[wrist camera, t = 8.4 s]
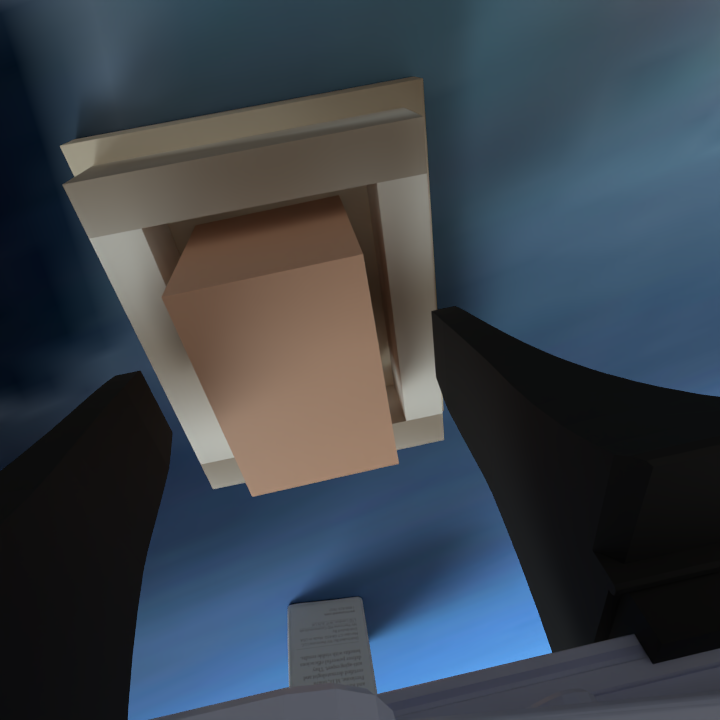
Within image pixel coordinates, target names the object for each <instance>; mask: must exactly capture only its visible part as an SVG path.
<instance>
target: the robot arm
mask: <svg viewBox="0 0 720 720" xmlns="http://www.w3.org/2000/svg"><path fill="white" fill-rule="evenodd" d="M431 315H432V330H433V344H434V358H435V372H436V379H437V382H438V384H439V387H440V390H441V393H442V395H443V398H444V401H445V403H446V406H447V408H448V410H449V412H450V414H451V416H452V418H453V420H454V422H455V424H456V425H457V427H458V429H459V431H460V433H461V435H462V437H463V438H464V440H465V442H466V444H467V446H468V448H469V450H470V451H471V453H472V455H473V457H474V459H475V461H476V462H477V464H478V466H479V468H480V470H481V472H482V473H483V475H484V477H485V479H486V481H487V483H488V485H489V488H490V490H491V492H492V494H493V496H494V499H495V501H496V504H497V506H498V509H499V511H500V513H501V516H502V518H503V521H504V523H505V526H506V528H507V531H508V533H509V536H510V538H511V541H512V544H513V546H514V549H515V551H516V554H517V556H518V559H519V561H520V564H521V567H522V569H523V572H524V575H525V577H526V580H527V583H528V586H529V588H530V591H531V594H532V596H533V599H534V602H535V605H536V607H537V610H538V613H539V615H540V618H541V621H542V624H543V627H544V630H545V633H546V636H547V638H548V641H549V644H550V647H551V650H552V653H550V654H546V655H542V656H537V657H533V658H529V659H525V660H520V661H516V662H512V663H508V664H503V665H499V666H495V667H491V668H486V669H482V670H478V671H474V672H469V673H465V674H461V675H457V676H452V677H448V678H444V679H440V680H436V681H431V682H427V683H423V684H419V685H414V686H410V687H406V688H402V689H397V690H393V691H389V692H385V693H380V694H376V695H374V694H373V693H372V692H371V691H369V690H368V689H367V688H361V687H355V686H349V685H343V684H337V683H323V684H314V685H305V686H296V687H288V688H283V689H278V690H274V691H270V692H266V693H261V694H257V695H253V696H248V697H244V698H240V699H236V700H231V701H227V702H223V703H218V704H214V705H210V706H206V707H201V708H197V709H193V710H189V711H184V712H180V713H176V714H171V715H167V716H163V717H159V718H154V719H150V720H720V397H716V396H709V395H702V394H695V393H690V392H685V391H679V390H674V389H668V388H663V387H658V386H654V385H649V384H645V383H640V382H636V381H632V380H628V379H625V378H621V377H617V376H613V375H610V374H606V373H602V372H599V371H596V370H593V369H589V368H586V367H584V366H581V365H578V364H575V363H572V362H569V361H567V360H564V359H561V358H558V357H556V356H553V355H551V354H549V353H546V352H544V351H542V350H539V349H537V348H535V347H533V346H531V345H528V344H526V343H524V342H522V341H520V340H518V339H516V338H514V337H512V336H510V335H508V334H506V333H504V332H502V331H500V330H498V329H497V328H495V327H493V326H491V325H489V324H487V323H486V322H484V321H482V320H480V319H479V318H477V317H475V316H473V315H471V314H470V313H468V312H466V311H464V310H462V309H460V308H458V307H456V306H453V307H448V308H443V309H438V310H434V311H431ZM171 444H172V431H171V429H170V427H169V425H168V423H167V421H166V419H165V417H164V415H163V413H162V411H161V409H160V408H159V406H158V404H157V402H156V400H155V398H154V396H153V394H152V392H151V390H150V388H149V386H148V384H147V382H146V380H145V378H144V376H143V375H142V373H141V371H136V372H132V373H127V374H122V375H117V376H114V377H113V378H112V379H110V380H109V381H107V382H106V383H105V384H104V385H102V386H101V387H100V388H99V389H97V390H96V391H95V392H94V393H93V394H92V395H90V396H89V397H88V398H87V399H86V400H85V401H84V402H82V403H81V404H80V405H79V406H78V407H77V408H76V409H74V410H73V411H72V412H71V413H70V414H69V415H68V416H66V417H65V418H64V419H63V420H62V421H61V422H60V423H59V424H57V425H56V426H55V427H54V428H53V429H52V430H51V431H49V432H48V433H47V434H46V435H45V436H43V437H42V438H41V439H40V440H38V441H37V442H36V443H35V444H34V445H32V446H31V447H30V448H29V449H28V450H26V451H25V452H24V453H23V454H21V455H20V456H19V457H18V458H17V459H15V460H14V461H13V462H12V463H10V464H9V465H8V466H7V467H5V468H4V469H3V470H1V471H0V720H128V704H129V692H130V679H131V667H132V655H133V646H134V638H135V629H136V620H137V611H138V604H139V598H140V591H141V584H142V577H143V570H144V565H145V561H146V556H147V551H148V548H149V544H150V540H151V536H152V532H153V529H154V525H155V521H156V517H157V513H158V510H159V506H160V502H161V498H162V494H163V490H164V487H165V483H166V479H167V474H168V470H169V464H170V455H171Z"/></svg>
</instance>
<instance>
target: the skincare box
mask: <svg viewBox="0 0 720 720" xmlns="http://www.w3.org/2000/svg"><path fill="white" fill-rule="evenodd" d="M288 667H289V687H296V686H305V685H314V684H323V683H337V684H343V685H349V686H355V687H361V688H367V689H368V690H369V691H371V692H372V693H373V694H374V695H376V694H377V689H376V683H375V676H374V670H373V664H372V657H371V651H370V645H369V639H368V632H367V626H366V620H365V614H364V607H363V601H362V599H361V598H360V597H351V598H343V599H335V600H327V601H317V602H307V603H298V604H292V605H289V606H288Z"/></svg>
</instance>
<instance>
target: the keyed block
mask: <svg viewBox="0 0 720 720" xmlns="http://www.w3.org/2000/svg"><path fill="white" fill-rule="evenodd" d="M161 298H162V300H163V302H164V304H165V306H166V309H167V311H168V313H169V315H170V317H171V320H172V322H173V324H174V326H175V328H176V331H177V333H178V335H179V337H180V339H181V341H182V344H183V346H184V348H185V350H186V352H187V355H188V357H189V359H190V361H191V363H192V366H193V368H194V370H195V372H196V374H197V377H198V379H199V381H200V383H201V385H202V388H203V390H204V392H205V394H206V396H207V399H208V401H209V403H210V405H211V407H212V409H213V412H214V414H215V416H216V418H217V420H218V423H219V425H220V427H221V429H222V431H223V434H224V436H225V438H226V440H227V442H228V445H229V447H230V449H231V451H232V453H233V456H234V458H235V460H236V462H237V464H238V467H239V469H240V471H241V473H242V475H243V478H244V480H245V482H246V484H247V486H248V488H249V491H250V493H251V495H252V497H254V496H258V495H263V494H267V493H271V492H276V491H280V490H285V489H289V488H293V487H298V486H302V485H307V484H311V483H316V482H320V481H324V480H329V479H333V478H338V477H342V476H346V475H351V474H355V473H360V472H364V471H368V470H373V469H377V468H382V467H386V466H391V465H395V464H399V462H398V456H397V450H396V444H395V438H394V432H393V427H392V421H391V415H390V409H389V403H388V397H387V391H386V385H385V380H384V374H383V368H382V362H381V356H380V350H379V344H378V338H377V332H376V327H375V321H374V315H373V309H372V303H371V297H370V291H369V285H368V279H367V274H366V268H365V262H364V256H363V252H362V250H361V248H360V245H359V243H358V240H357V238H356V235H355V233H354V231H353V228H352V226H351V223H350V221H349V218H348V216H347V213H346V211H345V209H344V206H343V204H342V201H341V199H340V196H339V195H337V196H332V197H327V198H322V199H318V200H313V201H308V202H303V203H299V204H294V205H289V206H285V207H280V208H275V209H270V210H266V211H261V212H256V213H251V214H247V215H242V216H237V217H232V218H228V219H223V220H218V221H213V222H209V223H204V224H199V225H195V228H194V230H193V232H192V234H191V236H190V238H189V240H188V242H187V244H186V247H185V249H184V251H183V253H182V255H181V257H180V259H179V261H178V263H177V265H176V268H175V270H174V272H173V274H172V276H171V278H170V280H169V282H168V284H167V287H166V289H165V291H164V293H163V295H162V297H161Z"/></svg>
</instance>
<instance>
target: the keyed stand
mask: <svg viewBox="0 0 720 720" xmlns="http://www.w3.org/2000/svg"><path fill="white" fill-rule="evenodd" d="M60 148H61V150H62V152H63V154H64V156H65V158H66V160H67V162H68V164H69V166H70V169H71V171H72V173H73V175H74V178H72V179H71V180H69V181H67V182H66V183H64V184H63V187H64V189H65V191H66V193H67V195H68V197H69V199H70V201H71V203H72V205H73V207H74V209H75V211H76V213H77V215H78V217H79V219H80V221H81V223H82V225H83V227H84V229H85V231H86V233H87V235H88V237H89V239H90V241H91V243H92V245H93V247H94V249H95V252H96V254H97V256H98V258H99V260H100V262H101V264H102V266H103V268H104V270H105V272H106V274H107V276H108V278H109V280H110V282H111V284H112V286H113V288H114V290H115V292H116V294H117V296H118V298H119V300H120V302H121V304H122V306H123V308H124V310H125V312H126V314H127V316H128V318H129V320H130V322H131V324H132V326H133V328H134V330H135V332H136V334H137V336H138V338H139V340H140V342H141V344H142V346H143V348H144V351H145V353H146V355H147V357H148V359H149V361H150V363H151V365H152V367H153V369H154V371H155V373H156V375H157V377H158V379H159V381H160V383H161V385H162V387H163V389H164V391H165V393H166V395H167V397H168V399H169V401H170V403H171V405H172V407H173V409H174V411H175V413H176V415H177V417H178V419H179V421H180V423H181V425H182V427H183V429H184V431H185V433H186V435H187V437H188V439H189V441H190V443H191V445H192V447H193V449H194V452H195V454H196V456H197V458H198V460H199V462H200V464H201V466H202V468H203V470H204V472H205V474H206V476H207V478H208V480H209V482H210V484H211V486H212V488H213V489H217V488H221V487H226V486H231V485H235V484H240V483H245V480H244V478H243V475H242V473H241V471H240V469H239V467H238V464H237V462H236V460H235V458H234V456H233V453H232V451H231V449H230V447H229V445H228V442H227V440H226V438H225V436H224V434H223V431H222V429H221V427H220V425H219V423H218V420H217V418H216V416H215V414H214V412H213V409H212V407H211V405H210V403H209V401H208V399H207V396H206V394H205V392H204V390H203V388H202V385H201V383H200V381H199V379H198V377H197V374H196V372H195V370H194V368H193V366H192V363H191V361H190V359H189V357H188V355H187V352H186V350H185V348H184V346H183V344H182V341H181V339H180V337H179V335H178V333H177V331H176V328H175V326H174V324H173V322H172V320H171V317H170V315H169V313H168V311H167V309H166V306H165V304H164V302H163V300H162V298H161V297H162V295H163V293H164V291H165V289H166V287H167V284H168V282H169V280H170V278H171V276H172V274H173V272H174V270H175V268H176V265H177V263H178V261H179V259H180V257H181V255H182V253H183V251H184V249H185V247H186V244H187V242H188V240H189V238H190V236H191V234H192V232H193V230H194V228H195V225H199V224H204V223H209V222H213V221H218V220H223V219H228V218H232V217H237V216H242V215H247V214H251V213H256V212H261V211H266V210H270V209H275V208H280V207H285V206H289V205H294V204H299V203H303V202H308V201H313V200H318V199H322V198H327V197H332V196H337V195H339V196H340V199H341V201H342V204H343V206H344V209H345V211H346V213H347V216H348V218H349V221H350V223H351V226H352V228H353V231H354V233H355V235H356V238H357V240H358V243H359V245H360V248H361V250H362V252H363V256H364V262H365V268H366V274H367V279H368V285H369V291H370V297H371V303H372V309H373V315H374V321H375V327H376V332H377V338H378V344H379V350H380V356H381V362H382V368H383V374H384V380H385V385H386V391H387V397H388V403H389V409H390V415H391V421H392V427H393V432H394V438H395V444H396V450H399V449H404V448H408V447H413V446H418V445H422V444H427V443H432V442H436V441H441V440H444V431H443V415H442V411H443V395H442V393H441V390H440V387H439V384H438V382H437V379H436V372H435V358H434V344H433V330H432V315H431V311H434V310H437V298H436V282H435V266H434V250H433V233H432V217H431V201H430V185H429V169H428V153H427V137H426V121H425V104H424V88H423V78H418V77H408V78H403V79H397V80H392V81H386V82H381V83H376V84H370V85H365V86H359V87H354V88H349V89H343V90H338V91H332V92H327V93H322V94H316V95H311V96H305V97H300V98H295V99H289V100H284V101H278V102H273V103H268V104H262V105H257V106H252V107H246V108H241V109H235V110H230V111H225V112H219V113H214V114H208V115H203V116H198V117H192V118H187V119H181V120H176V121H171V122H165V123H160V124H154V125H149V126H144V127H138V128H133V129H127V130H122V131H117V132H111V133H106V134H101V135H95V136H90V137H84V138H79V139H74V140H72V141H70V142H67V143H65V144H63V145H61V146H60Z"/></svg>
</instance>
